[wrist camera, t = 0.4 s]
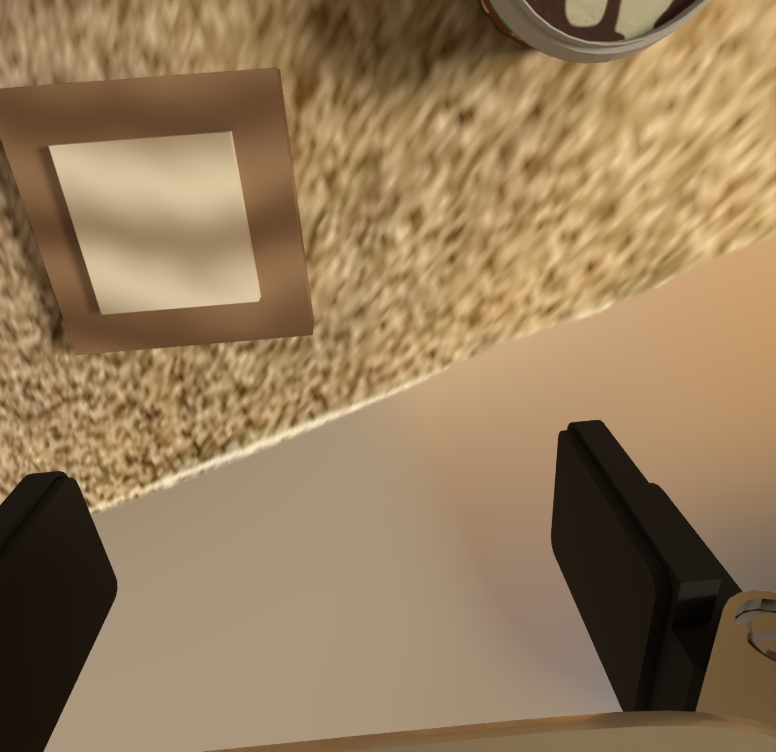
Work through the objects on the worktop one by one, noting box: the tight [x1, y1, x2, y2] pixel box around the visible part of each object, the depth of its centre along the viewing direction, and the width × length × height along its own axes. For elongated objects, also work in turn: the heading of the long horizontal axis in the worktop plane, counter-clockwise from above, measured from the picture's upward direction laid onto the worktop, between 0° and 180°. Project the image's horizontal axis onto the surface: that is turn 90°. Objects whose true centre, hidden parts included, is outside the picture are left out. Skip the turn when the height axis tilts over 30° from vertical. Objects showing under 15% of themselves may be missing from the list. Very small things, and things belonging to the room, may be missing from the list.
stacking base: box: [0, 68, 314, 355], centre depth 35 cm, size 16×16×3 cm
